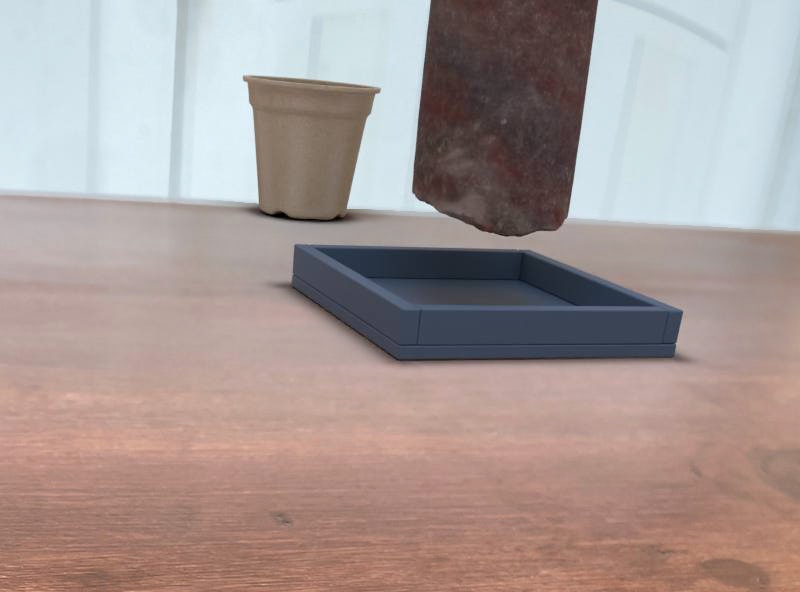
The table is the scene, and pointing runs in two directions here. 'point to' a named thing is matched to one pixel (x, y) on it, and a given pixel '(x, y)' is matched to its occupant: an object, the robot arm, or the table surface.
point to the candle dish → (481, 304)
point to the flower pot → (307, 143)
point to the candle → (503, 111)
